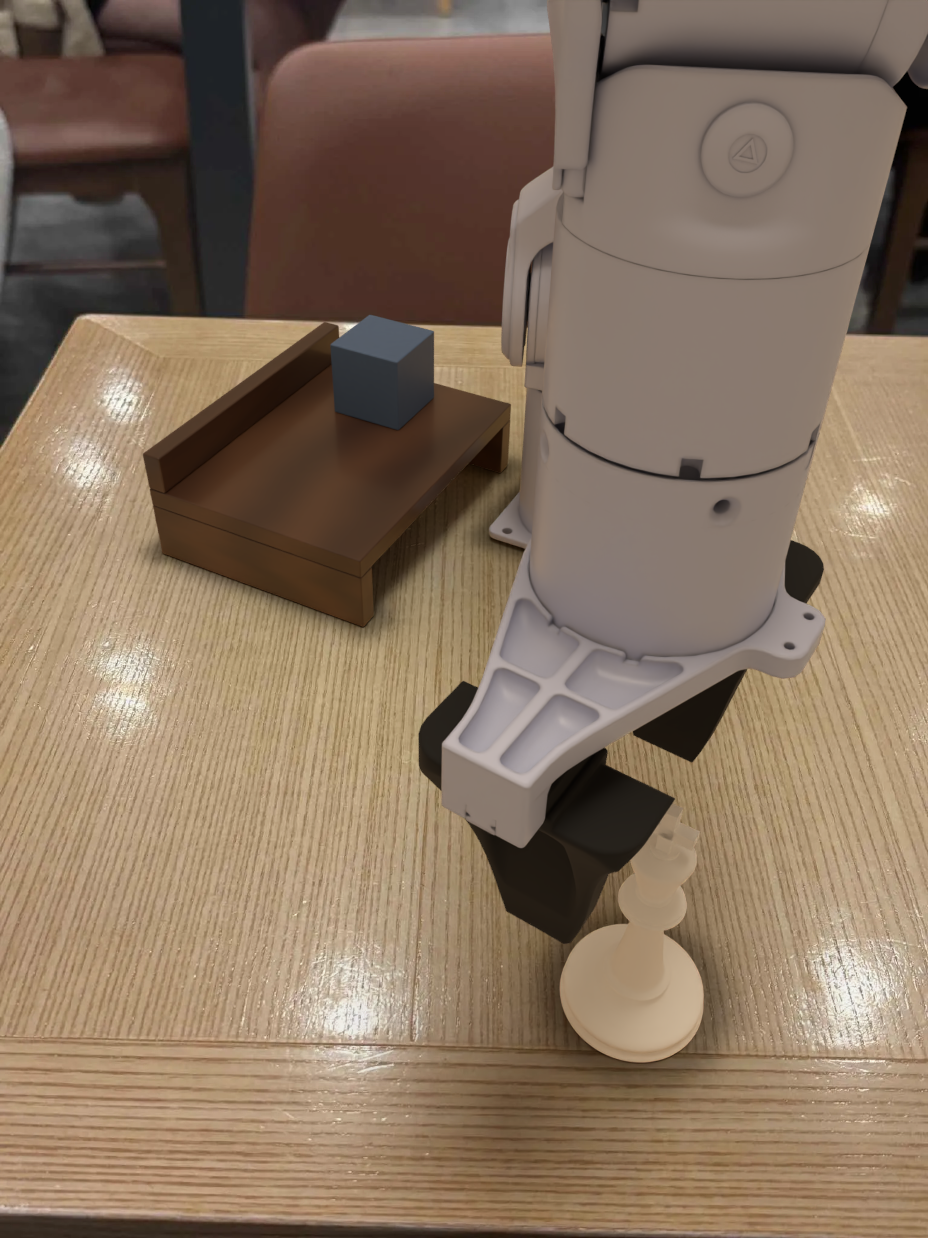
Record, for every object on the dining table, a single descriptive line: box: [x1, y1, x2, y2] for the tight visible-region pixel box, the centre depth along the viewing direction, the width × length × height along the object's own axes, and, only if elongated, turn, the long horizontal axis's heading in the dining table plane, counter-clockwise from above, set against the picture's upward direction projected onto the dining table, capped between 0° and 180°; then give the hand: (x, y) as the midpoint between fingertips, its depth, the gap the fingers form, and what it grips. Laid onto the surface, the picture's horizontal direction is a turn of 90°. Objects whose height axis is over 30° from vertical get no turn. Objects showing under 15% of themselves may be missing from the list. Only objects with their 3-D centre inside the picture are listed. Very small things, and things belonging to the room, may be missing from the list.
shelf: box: [142, 321, 512, 628], centre depth 57 cm, size 12×16×6 cm
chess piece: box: [559, 802, 705, 1063], centre depth 34 cm, size 5×5×10 cm
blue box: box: [330, 314, 435, 430], centre depth 58 cm, size 4×4×4 cm
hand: (609, 823), depth 31 cm, fingers open, 7 cm apart
